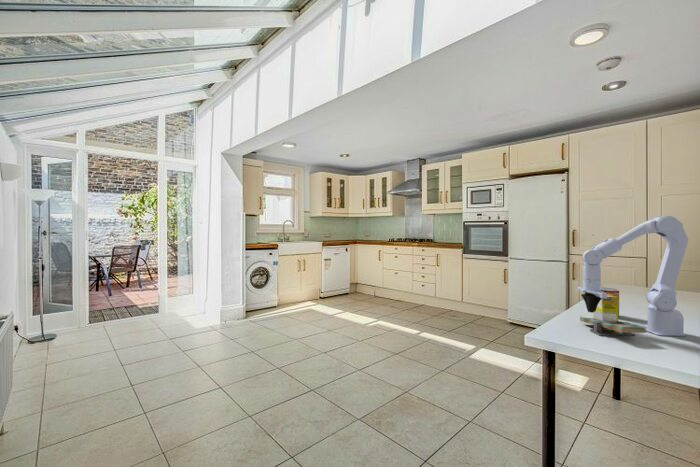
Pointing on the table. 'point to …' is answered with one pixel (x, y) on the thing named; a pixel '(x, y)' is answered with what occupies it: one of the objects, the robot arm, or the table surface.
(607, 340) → the table surface
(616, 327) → the balance beam
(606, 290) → the canned food
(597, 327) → the beam stand
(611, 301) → the supplement box
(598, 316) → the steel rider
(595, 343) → the table surface
